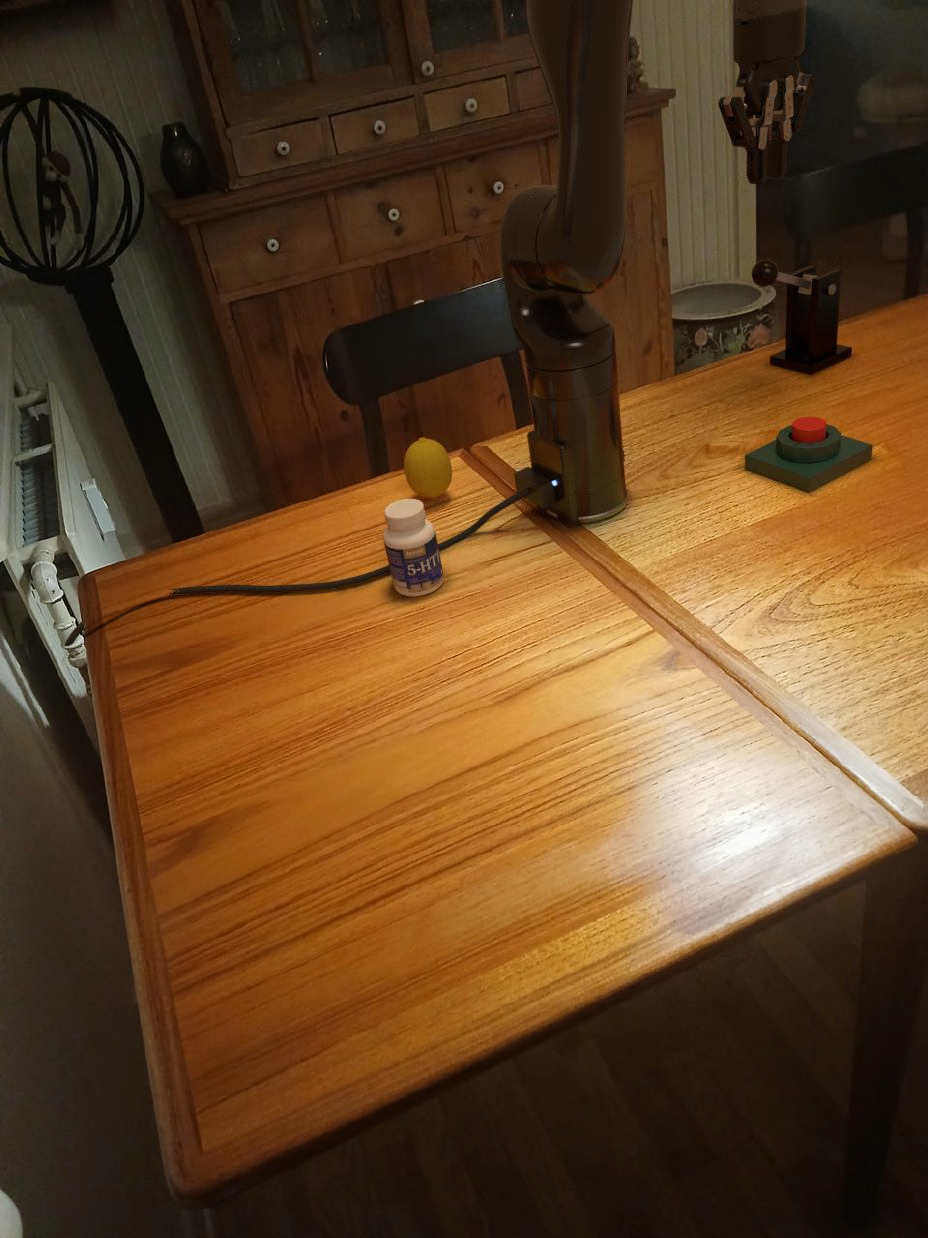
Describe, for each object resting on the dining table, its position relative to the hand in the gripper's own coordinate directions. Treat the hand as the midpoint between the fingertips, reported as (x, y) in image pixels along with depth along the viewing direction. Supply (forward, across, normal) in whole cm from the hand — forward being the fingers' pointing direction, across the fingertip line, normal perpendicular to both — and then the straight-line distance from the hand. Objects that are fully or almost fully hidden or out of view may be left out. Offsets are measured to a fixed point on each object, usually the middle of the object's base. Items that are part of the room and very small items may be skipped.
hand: (766, 179), depth 112 cm
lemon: (+25, +48, -7) cm, 55 cm away
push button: (+22, +15, +20) cm, 33 cm away
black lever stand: (+25, -9, 0) cm, 27 cm away
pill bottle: (+25, +59, +8) cm, 65 cm away
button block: (+25, +15, +20) cm, 35 cm away
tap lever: (+14, -4, 0) cm, 15 cm away
